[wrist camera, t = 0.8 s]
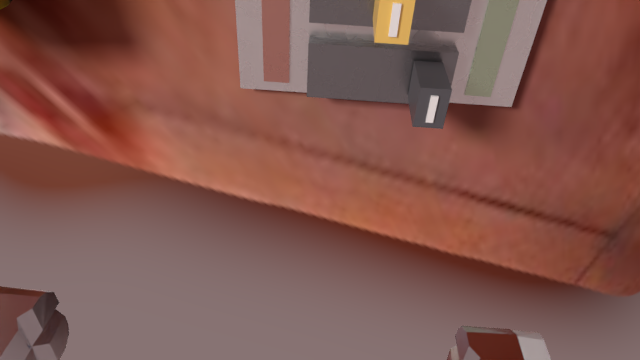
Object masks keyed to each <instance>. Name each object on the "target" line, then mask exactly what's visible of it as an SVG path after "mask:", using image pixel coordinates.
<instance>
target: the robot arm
mask: <svg viewBox="0 0 640 360" xmlns="http://www.w3.org/2000/svg"><path fill="white" fill-rule="evenodd" d="M58 304H59V301H58V299H57V297H56V295H55V293H54V292H49V291H40V290H29V289H20V288H10V287H1V286H0V360H60V358H61V356H62V354H63V352H64V350H65V348H66V344H67V339H68V336H69V328H68V322H67V320H66V317H65V316H64V315H63V314H61V313H60V312H59V311H57V310H56V307H57V305H58ZM455 339H456V344H457V346H455V347H453V348H452V349H450V351H449V354H448V357H447V360H551V358H550V355H549V352H548V350H547V347H546V344H545V341H544V339H543V337H542V336H541V335H540V334H539V333H538V332H530V331H515V330H510V329H500V328H486V327H471V326H461V327H460V328H458V330H457V333H456V336H455Z"/></svg>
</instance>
